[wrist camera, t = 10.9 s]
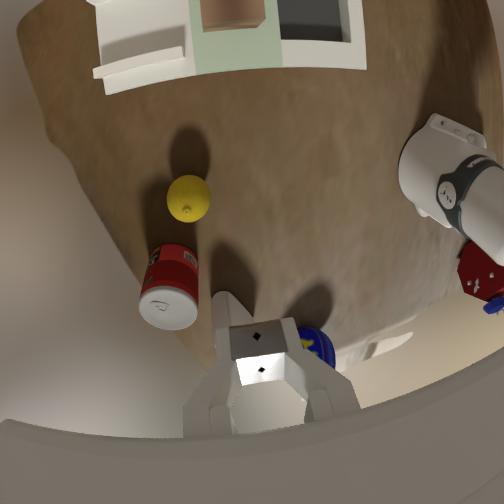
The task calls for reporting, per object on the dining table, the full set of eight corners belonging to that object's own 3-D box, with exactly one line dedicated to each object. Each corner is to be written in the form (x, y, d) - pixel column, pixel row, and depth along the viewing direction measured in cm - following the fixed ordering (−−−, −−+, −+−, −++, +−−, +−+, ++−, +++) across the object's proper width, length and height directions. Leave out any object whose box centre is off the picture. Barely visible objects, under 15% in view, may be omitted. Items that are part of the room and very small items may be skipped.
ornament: (307, 310, 56) (330, 373, 44) (333, 327, 60) (356, 384, 48) (267, 341, 60) (281, 403, 47) (295, 354, 64) (311, 410, 52)
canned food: (150, 237, 43) (138, 285, 34) (202, 245, 45) (202, 293, 36) (148, 277, 47) (138, 326, 38) (195, 283, 49) (194, 333, 40)
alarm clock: (458, 276, 59) (503, 333, 42) (441, 269, 56) (491, 331, 40) (489, 228, 52) (543, 279, 35) (475, 216, 49) (536, 270, 33)
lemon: (166, 171, 37) (157, 194, 31) (207, 164, 38) (206, 185, 31) (175, 207, 41) (169, 236, 34) (213, 201, 41) (214, 228, 34)
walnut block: (252, -15, 22) (260, -31, 18) (256, 28, 26) (265, 18, 21) (199, -11, 22) (197, -27, 17) (203, 32, 25) (201, 23, 21)
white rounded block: (257, 318, 55) (267, 372, 45) (237, 327, 56) (245, 381, 46) (227, 285, 50) (233, 342, 40) (206, 296, 51) (209, 353, 40)
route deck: (346, -30, 23) (366, -41, 18) (356, 69, 32) (378, 70, 27) (102, -11, 21) (85, -22, 16) (113, 93, 30) (97, 97, 25)
